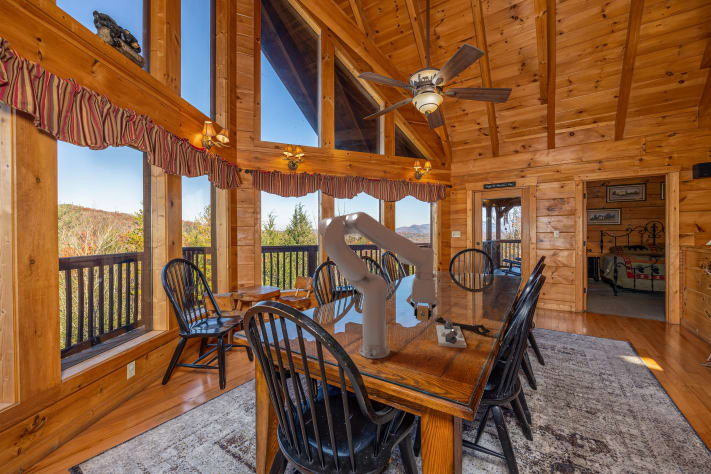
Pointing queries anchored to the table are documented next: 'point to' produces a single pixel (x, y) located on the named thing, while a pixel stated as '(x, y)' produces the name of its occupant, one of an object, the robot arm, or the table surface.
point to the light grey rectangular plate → (442, 333)
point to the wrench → (467, 327)
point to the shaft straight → (448, 324)
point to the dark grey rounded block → (451, 336)
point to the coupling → (422, 313)
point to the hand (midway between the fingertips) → (422, 317)
